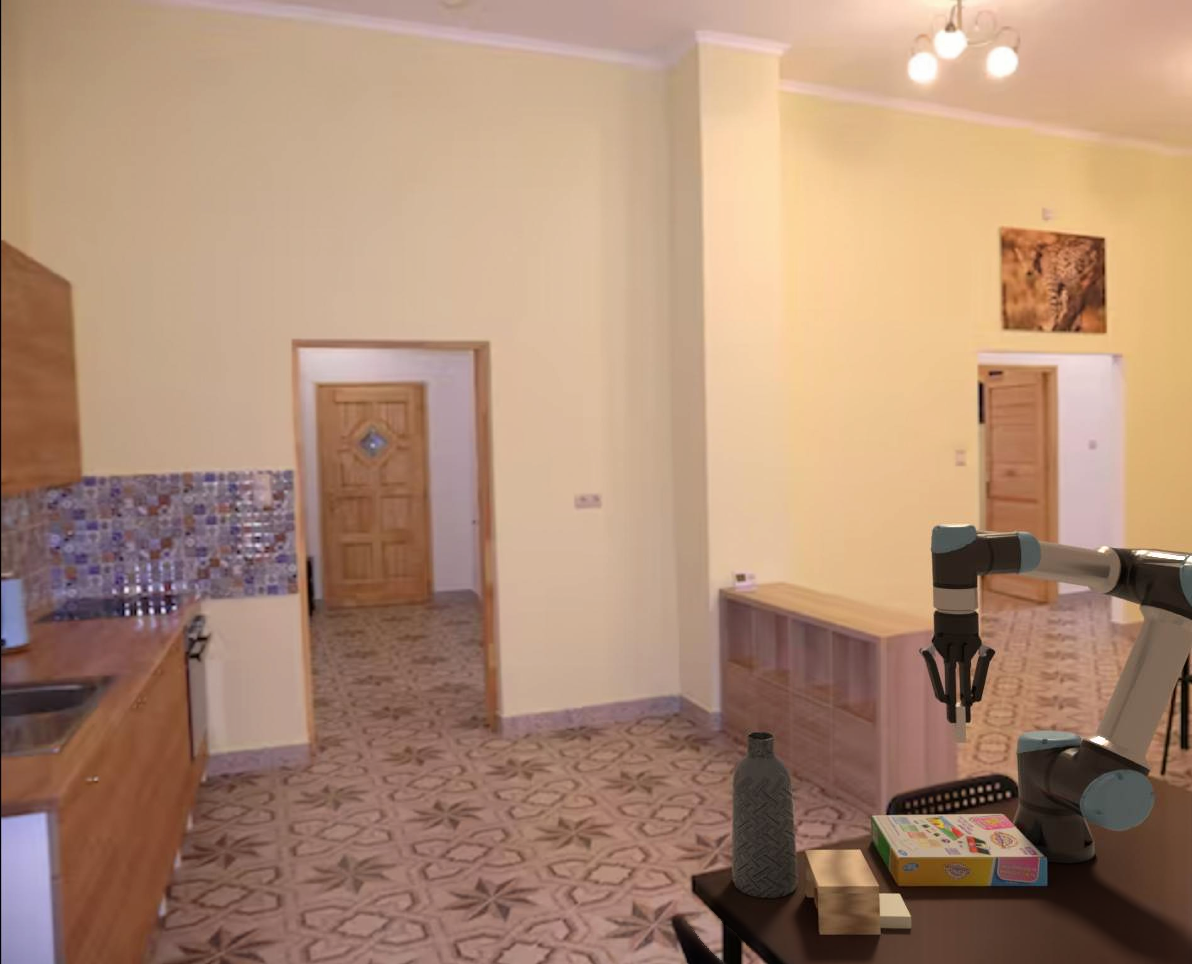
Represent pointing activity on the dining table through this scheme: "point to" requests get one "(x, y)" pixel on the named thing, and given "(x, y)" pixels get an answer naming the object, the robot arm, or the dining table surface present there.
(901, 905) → the thin cream tile
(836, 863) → the overhang
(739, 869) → the vase
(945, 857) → the game box
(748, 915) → the dining table surface
